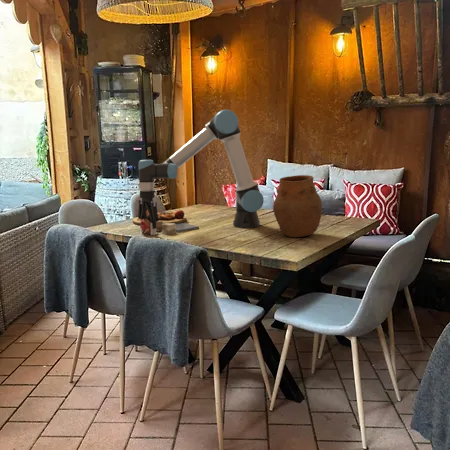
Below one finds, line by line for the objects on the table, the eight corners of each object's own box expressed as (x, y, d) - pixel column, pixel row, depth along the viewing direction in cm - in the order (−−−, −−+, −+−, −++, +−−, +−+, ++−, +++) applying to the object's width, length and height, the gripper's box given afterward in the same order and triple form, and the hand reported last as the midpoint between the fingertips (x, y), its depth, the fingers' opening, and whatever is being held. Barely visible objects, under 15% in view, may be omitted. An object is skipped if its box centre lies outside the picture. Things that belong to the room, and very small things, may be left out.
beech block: (175, 233, 228) (175, 223, 227) (168, 234, 224) (168, 225, 223) (168, 231, 231) (168, 222, 230) (162, 233, 227) (161, 224, 226)
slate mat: (198, 228, 238) (198, 226, 238) (178, 232, 229) (178, 230, 229) (183, 225, 248) (183, 223, 248) (163, 228, 239) (163, 226, 239)
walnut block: (163, 230, 234) (162, 221, 233) (154, 231, 232) (154, 222, 231) (160, 228, 239) (159, 220, 238) (151, 229, 237) (151, 220, 236)
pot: (262, 234, 222) (263, 176, 216) (295, 228, 236) (296, 173, 230) (297, 243, 203) (299, 179, 197) (330, 235, 217) (333, 176, 211)
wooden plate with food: (195, 219, 268) (195, 205, 267) (168, 228, 240) (167, 213, 239) (152, 216, 282) (152, 204, 280) (121, 225, 253) (120, 211, 252)
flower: (137, 233, 219) (146, 220, 219) (133, 226, 227) (142, 214, 226) (152, 241, 225) (161, 229, 224) (148, 234, 232) (156, 222, 232)
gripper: (164, 191, 216) (166, 235, 221) (142, 188, 232) (144, 229, 236) (152, 192, 212) (153, 237, 216) (129, 189, 227) (131, 231, 231)
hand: (148, 233), depth 226 cm, fingers closed on flower, 9 cm apart
